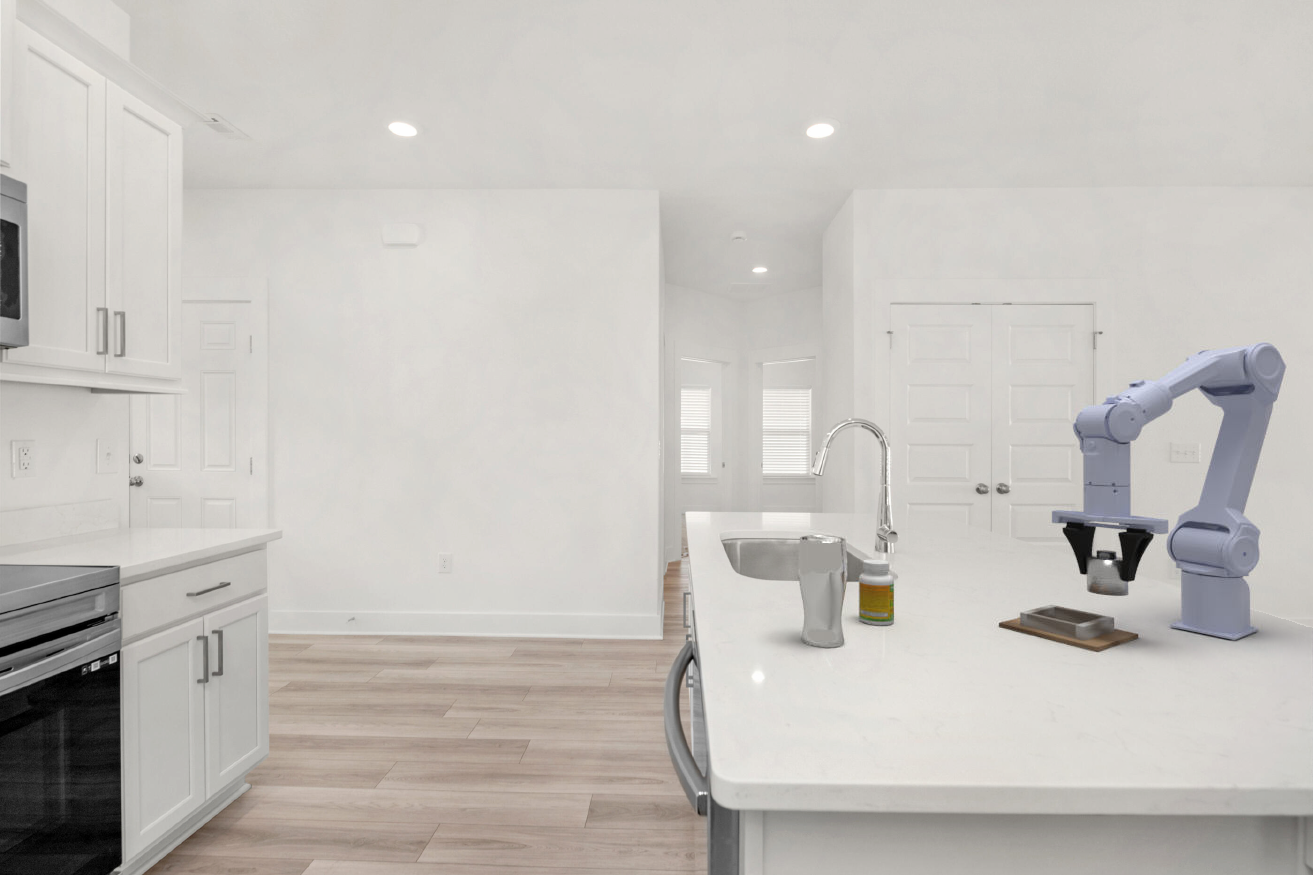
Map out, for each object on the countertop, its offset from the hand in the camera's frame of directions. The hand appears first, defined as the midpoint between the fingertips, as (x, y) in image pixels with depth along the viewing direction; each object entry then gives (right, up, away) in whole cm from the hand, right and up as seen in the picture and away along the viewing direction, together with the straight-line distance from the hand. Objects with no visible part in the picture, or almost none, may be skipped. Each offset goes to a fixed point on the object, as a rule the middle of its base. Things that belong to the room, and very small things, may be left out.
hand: (1106, 577), depth 94 cm
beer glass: (-42, -9, -1) cm, 43 cm away
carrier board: (-4, -9, +3) cm, 10 cm away
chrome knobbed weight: (0, -2, 0) cm, 2 cm away
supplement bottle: (-31, -9, +9) cm, 34 cm away
